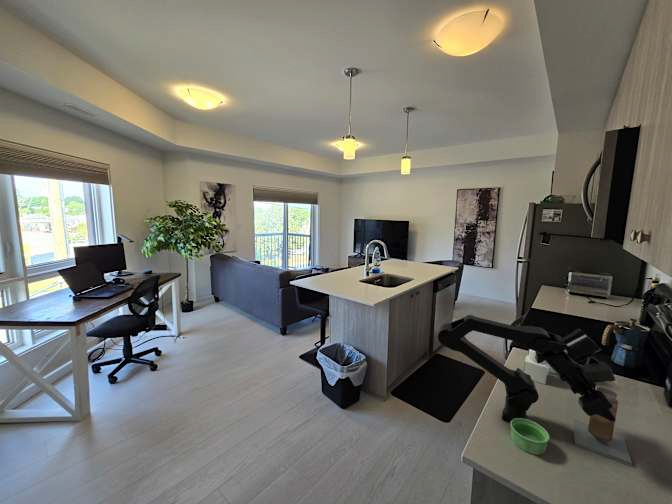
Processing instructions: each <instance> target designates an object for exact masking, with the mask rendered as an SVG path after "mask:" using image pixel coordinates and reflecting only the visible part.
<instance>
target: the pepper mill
mask: <svg viewBox="0 0 672 504" xmlns="http://www.w3.org/2000/svg"><path fill="white" fill-rule="evenodd" d="M596 391H600V392H602V393H603V394H604V395H606V397H607V398H608V399H609V401H610V402H611V403H612V405H613V406H612V408H610V409H609V410H610V412H611V413H612V415H613V416H614V418H615V419H616V418H617V411H618V408H619V401H618V400H617V396H618V394H617V393H616V392H615V391H614V390H612V389H609V388H606V387H603V386H601V387H600V386H598V387H597V386H596ZM588 419H589V420H588V424H589V425H588V431H589V433H590V434H592V435H593V436H595V437H596V438H598V439H601V440H604V441H611V440H612V437H613V433H614V430H615V424H616V420H617V419H616V420H615V421H613V422H612V421H610V420H608V419H606V418H604V417H602V416H600V415H598V414H595V415H593V416H589V418H588Z"/></svg>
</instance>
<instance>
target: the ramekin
mask: <svg viewBox="0 0 672 504" xmlns="http://www.w3.org/2000/svg"><path fill="white" fill-rule="evenodd" d="M509 423H510V422H509ZM509 426H510V437H511V440H512V442H513V443H514V444H515V445H516V446H517V447H518V448H519V449H521V450H522V451H524V452H526V453H528V454H531V455H536V456H537V455H539V456H541V455H542V454H545V452H546V451H547V446H548V443H549V442H550V434H549V432H548V431H547V430H546V429H545V428H544V427H543V426H541V425H540V424H539V423H537V422H535V421H533V420H530V419H529V418H527V419H524V418H515V419H513V420H512V421H511V423H510V425H509Z"/></svg>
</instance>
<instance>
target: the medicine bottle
mask: <svg viewBox="0 0 672 504" xmlns="http://www.w3.org/2000/svg"><path fill="white" fill-rule="evenodd" d="M527 349H528V348H527ZM535 355H536V352H535V351H533V350H531V349H528V350H527V354H526V355H525V356H526V357H525V359H524V367H523V368H524V369H523V372H524V373H526V374H528V375H530V376H531V379H532V380H533V382H536V383H540V384H542V385H546V383H547V376H548V375H547V369H548V363H547V362H546V361H543V362H541V363H537V361H536V359H535Z"/></svg>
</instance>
